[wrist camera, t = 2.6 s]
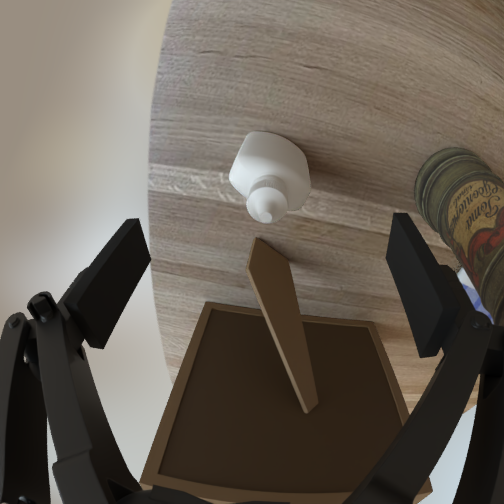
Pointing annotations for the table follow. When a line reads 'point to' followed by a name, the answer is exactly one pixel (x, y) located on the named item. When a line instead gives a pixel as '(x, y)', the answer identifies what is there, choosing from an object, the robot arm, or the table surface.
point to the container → (467, 219)
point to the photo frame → (276, 401)
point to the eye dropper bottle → (270, 176)
